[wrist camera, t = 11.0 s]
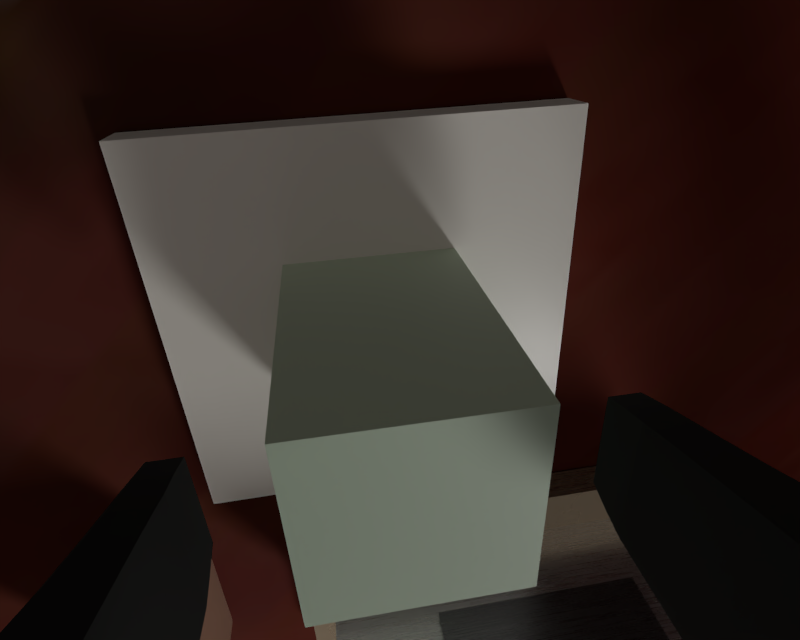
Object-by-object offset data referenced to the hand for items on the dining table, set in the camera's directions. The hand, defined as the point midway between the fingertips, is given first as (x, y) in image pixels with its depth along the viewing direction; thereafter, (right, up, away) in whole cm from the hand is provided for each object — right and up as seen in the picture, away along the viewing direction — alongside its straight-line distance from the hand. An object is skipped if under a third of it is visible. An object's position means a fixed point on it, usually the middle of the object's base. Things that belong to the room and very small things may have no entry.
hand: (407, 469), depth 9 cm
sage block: (-1, +2, +4) cm, 5 cm away
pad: (-1, +3, +5) cm, 6 cm away
